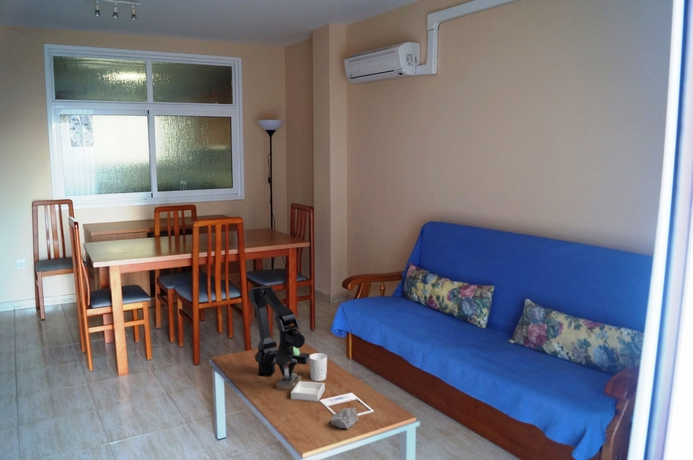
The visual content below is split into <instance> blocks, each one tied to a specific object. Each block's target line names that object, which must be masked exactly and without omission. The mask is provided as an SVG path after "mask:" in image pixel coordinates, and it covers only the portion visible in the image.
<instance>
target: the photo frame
mask: <svg viewBox="0 0 693 460" xmlns="http://www.w3.org/2000/svg"><path fill="white" fill-rule="evenodd" d="M356 400H357V401H358V402H359V401H360V404H361V405H362V406H364V407H365V408H367V411H363V412H360V413H359V412H358V413H357V417H359V416H363V415H367V414H370V413H371V414H372V413H374V409H372V408H371V407H370V406H369V405H367V404H366V403H365V402H364V401H363V400H361V399H360V398H359V397H358V396H357V395H355V394H354V393H353V392H349V393H344V394H341V395H336V396H332V397H327V398H322V399H319V403H321V404H322V405H323V406H324V407H325V408H326V409H327V410H328V411H330V413H332V414H333V415H334V414H336V413H337V412H335V411H334V410H333V409H332V408H330V406H334V405H337V404H342V403H346V402H350V401H356Z"/></svg>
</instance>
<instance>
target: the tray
mask: <svg viewBox="0 0 693 460" xmlns="http://www.w3.org/2000/svg"><path fill="white" fill-rule="evenodd" d="M325 385H326V383H324V382H316V381H315V382H314V381H303V380H302V381H299V382H298V383H297V385H296V386H295V387H294V389H293V390H292V391H290V400H293V401H294V400H295V401H302V402H303V401H305V402H315V403H318V402H320V400H321V399H320V398H322V396H323V394H324V392H325V390H326V386H325Z"/></svg>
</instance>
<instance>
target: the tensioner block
mask: <svg viewBox="0 0 693 460" xmlns="http://www.w3.org/2000/svg"><path fill="white" fill-rule="evenodd" d="M302 379H303V377H302V375H298V374H297V373H295V372H293V373H292V375H291V377H290V382H288V381H284V377H283V375H282V376H281V378H280V379H279V380H278V381H277V383H275V387H276V388H275V389H276V391H285V392H286V391H287V392H292V390H293V389H294V387H295V386H296V385H297V383H298V382H299V381H303V380H302Z"/></svg>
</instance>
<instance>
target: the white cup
mask: <svg viewBox="0 0 693 460" xmlns="http://www.w3.org/2000/svg"><path fill="white" fill-rule="evenodd" d="M309 355H310V360H309V361H308V362H309V373H310V379H311V381H313V382H314V381H315V382H322V381H325V380H326V379H327V370H328V369H327V368H328V355H327V354H325V353H322V352H321V353H320V352H319V353H318V352H317V353H311V354H309Z"/></svg>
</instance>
